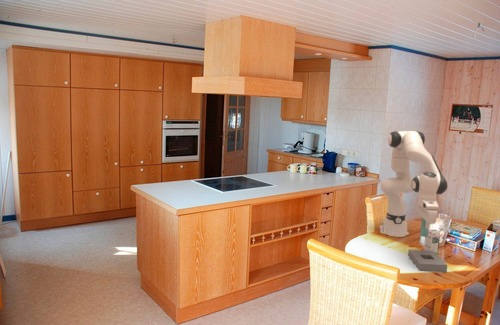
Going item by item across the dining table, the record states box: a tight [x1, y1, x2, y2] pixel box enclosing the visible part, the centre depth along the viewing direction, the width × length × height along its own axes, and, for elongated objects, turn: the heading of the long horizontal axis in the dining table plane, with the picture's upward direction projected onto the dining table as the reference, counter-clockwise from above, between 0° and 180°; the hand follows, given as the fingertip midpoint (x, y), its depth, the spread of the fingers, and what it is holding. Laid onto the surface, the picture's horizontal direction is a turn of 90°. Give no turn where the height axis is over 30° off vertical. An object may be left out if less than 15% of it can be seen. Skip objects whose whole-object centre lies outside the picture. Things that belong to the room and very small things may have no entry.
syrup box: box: [423, 228, 441, 256], centre depth 232 cm, size 6×6×14 cm
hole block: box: [407, 249, 448, 273], centre depth 218 cm, size 20×14×4 cm
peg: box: [419, 218, 430, 238], centre depth 216 cm, size 4×4×10 cm
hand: (424, 226), depth 216 cm, fingers closed on peg, 4 cm apart
